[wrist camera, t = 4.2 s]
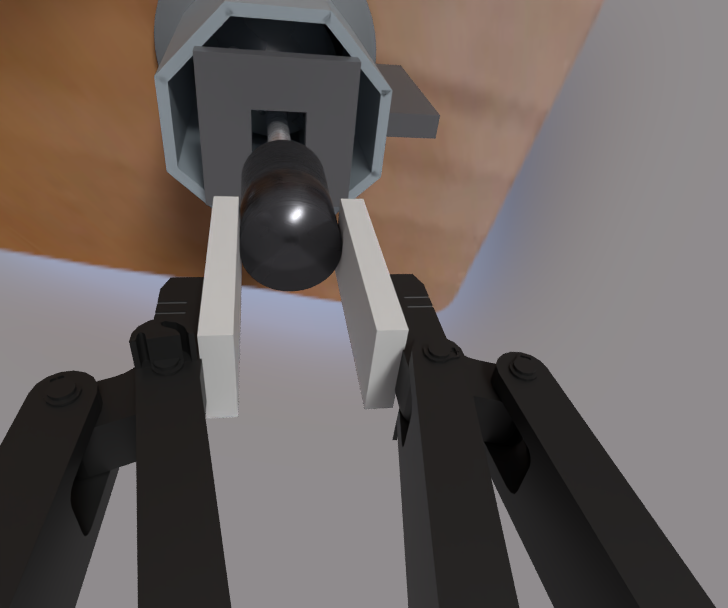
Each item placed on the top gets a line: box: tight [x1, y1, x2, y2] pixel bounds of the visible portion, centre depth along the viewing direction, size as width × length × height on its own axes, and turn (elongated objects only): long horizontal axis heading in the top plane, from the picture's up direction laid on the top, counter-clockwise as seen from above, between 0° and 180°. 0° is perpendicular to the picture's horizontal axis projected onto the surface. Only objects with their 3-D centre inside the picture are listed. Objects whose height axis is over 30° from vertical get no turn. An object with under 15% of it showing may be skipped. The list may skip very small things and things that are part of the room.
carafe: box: [154, 0, 440, 216], centre depth 29 cm, size 13×10×14 cm
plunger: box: [203, 16, 342, 291], centre depth 25 cm, size 8×8×21 cm
